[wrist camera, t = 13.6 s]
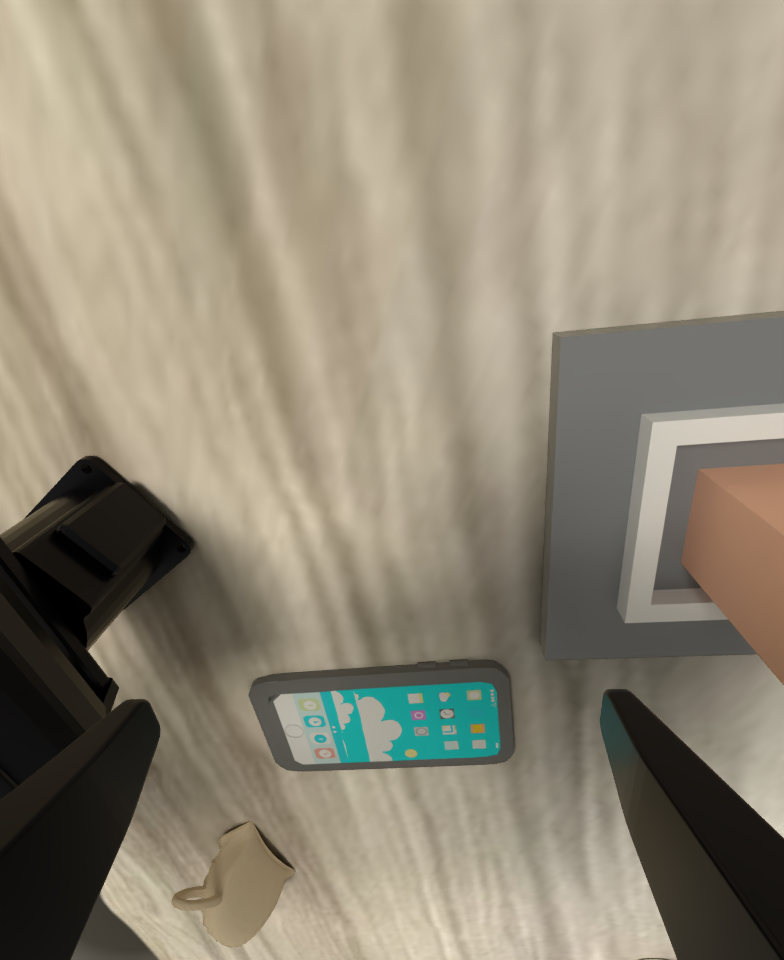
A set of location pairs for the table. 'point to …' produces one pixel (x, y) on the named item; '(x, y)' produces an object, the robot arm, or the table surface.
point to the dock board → (648, 477)
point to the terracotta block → (742, 552)
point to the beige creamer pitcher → (237, 887)
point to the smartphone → (387, 716)
